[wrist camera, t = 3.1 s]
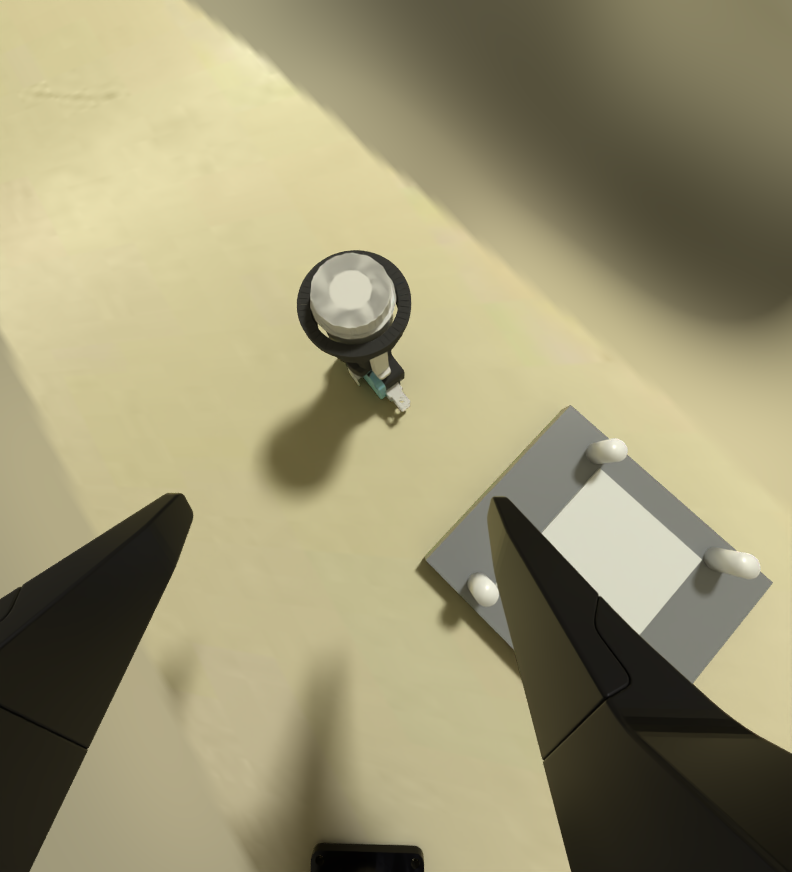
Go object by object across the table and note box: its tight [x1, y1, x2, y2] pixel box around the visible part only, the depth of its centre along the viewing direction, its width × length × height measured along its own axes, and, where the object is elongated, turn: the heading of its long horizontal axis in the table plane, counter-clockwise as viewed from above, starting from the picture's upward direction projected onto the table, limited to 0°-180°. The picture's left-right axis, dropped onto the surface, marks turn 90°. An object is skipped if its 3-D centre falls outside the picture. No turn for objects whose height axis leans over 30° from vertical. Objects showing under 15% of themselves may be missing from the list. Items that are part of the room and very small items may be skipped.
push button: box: [297, 250, 411, 412], centre depth 20 cm, size 7×5×10 cm
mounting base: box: [425, 405, 773, 684], centre depth 21 cm, size 14×16×3 cm
